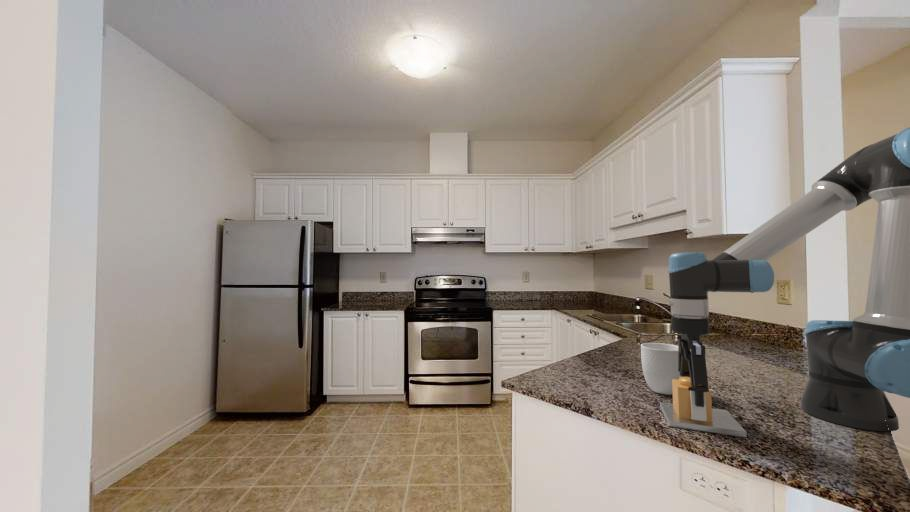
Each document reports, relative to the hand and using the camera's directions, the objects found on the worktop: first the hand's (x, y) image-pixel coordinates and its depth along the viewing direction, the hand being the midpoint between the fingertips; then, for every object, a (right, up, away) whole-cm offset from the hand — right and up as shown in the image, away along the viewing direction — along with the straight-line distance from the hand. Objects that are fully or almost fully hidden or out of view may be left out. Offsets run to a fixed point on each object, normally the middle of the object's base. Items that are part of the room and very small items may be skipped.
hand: (693, 411), depth 79 cm
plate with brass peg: (+1, -2, 0) cm, 2 cm away
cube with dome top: (0, -1, 0) cm, 1 cm away
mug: (+6, -3, +18) cm, 19 cm away
